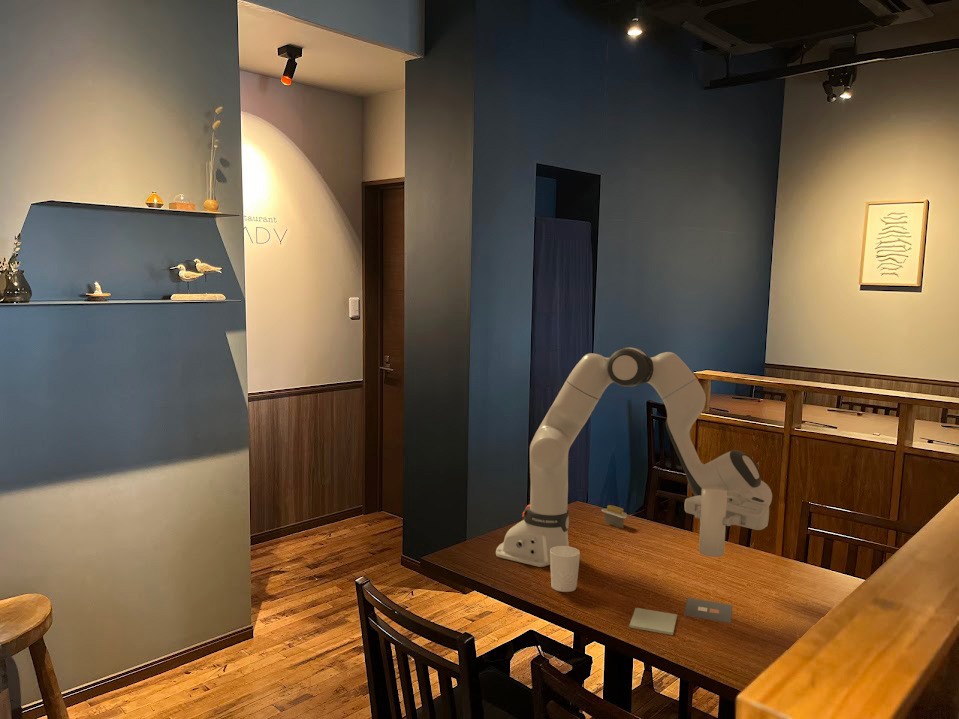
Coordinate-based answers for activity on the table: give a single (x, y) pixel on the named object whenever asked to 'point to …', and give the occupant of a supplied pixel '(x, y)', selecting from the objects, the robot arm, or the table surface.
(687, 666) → the table surface
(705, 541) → the ceramic canister
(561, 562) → the white cup
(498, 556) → the robot arm
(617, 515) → the platform
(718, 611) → the mat
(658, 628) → the coaster pad
